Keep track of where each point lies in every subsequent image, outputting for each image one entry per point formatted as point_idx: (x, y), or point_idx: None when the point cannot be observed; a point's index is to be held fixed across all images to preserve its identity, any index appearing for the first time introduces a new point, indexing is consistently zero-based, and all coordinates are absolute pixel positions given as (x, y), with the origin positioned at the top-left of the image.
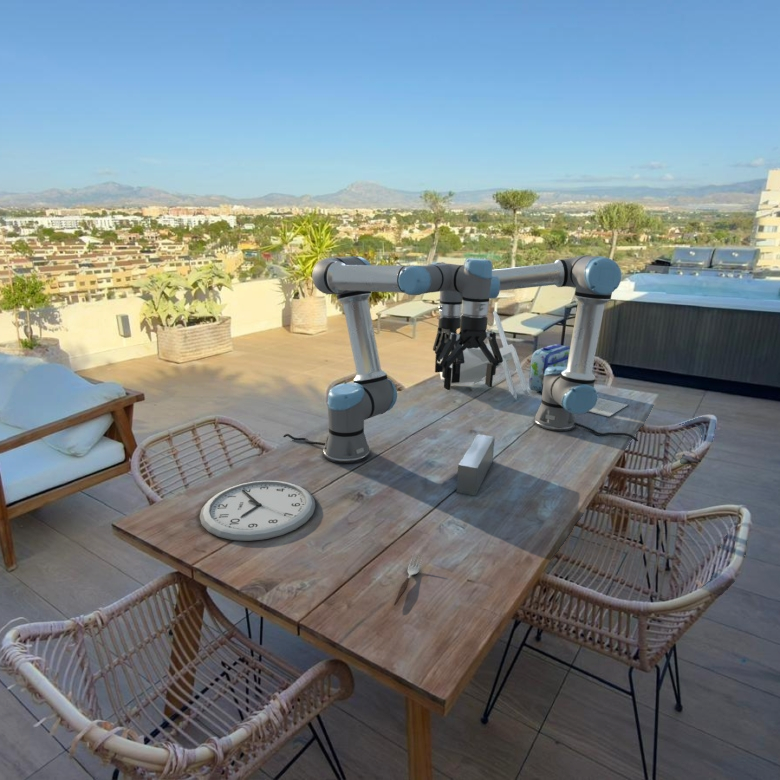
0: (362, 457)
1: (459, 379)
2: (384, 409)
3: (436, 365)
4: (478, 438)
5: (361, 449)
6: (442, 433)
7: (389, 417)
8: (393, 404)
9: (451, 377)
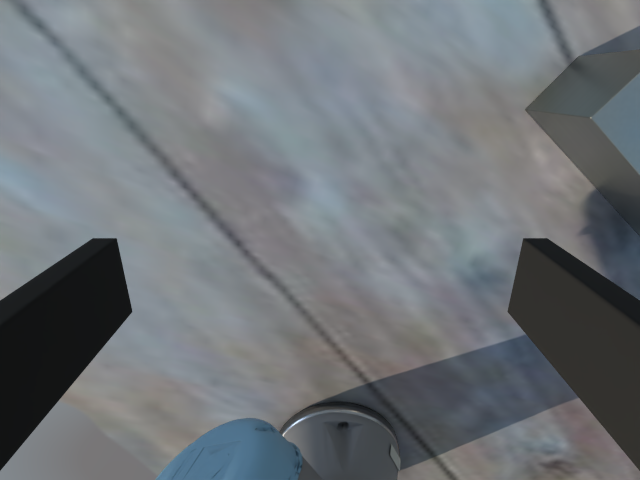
0: (393, 434)
1: (567, 253)
2: (316, 472)
3: (89, 358)
4: (635, 142)
5: (393, 455)
6: (254, 129)
7: (49, 266)
8: (284, 442)
9: (535, 343)
